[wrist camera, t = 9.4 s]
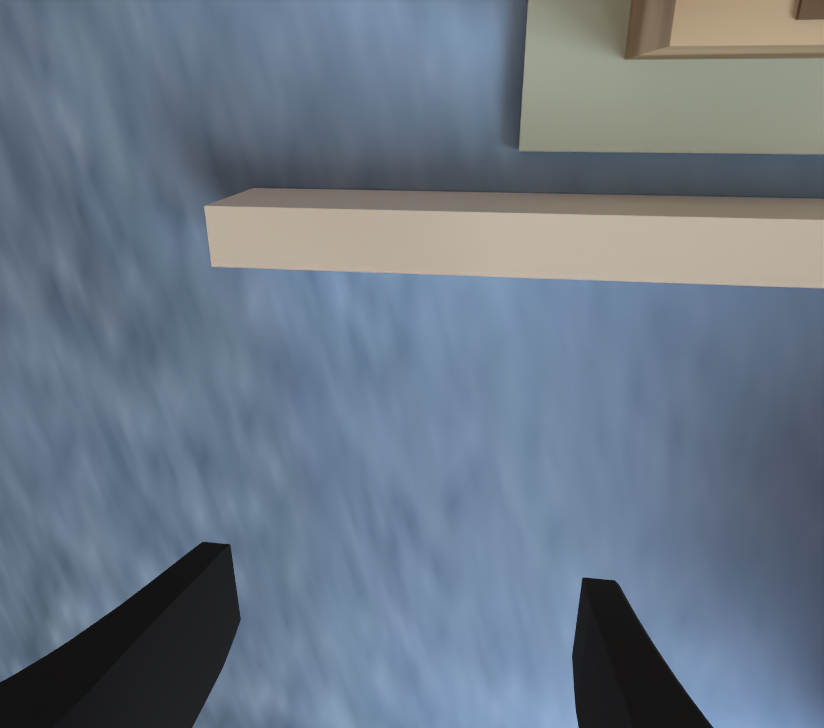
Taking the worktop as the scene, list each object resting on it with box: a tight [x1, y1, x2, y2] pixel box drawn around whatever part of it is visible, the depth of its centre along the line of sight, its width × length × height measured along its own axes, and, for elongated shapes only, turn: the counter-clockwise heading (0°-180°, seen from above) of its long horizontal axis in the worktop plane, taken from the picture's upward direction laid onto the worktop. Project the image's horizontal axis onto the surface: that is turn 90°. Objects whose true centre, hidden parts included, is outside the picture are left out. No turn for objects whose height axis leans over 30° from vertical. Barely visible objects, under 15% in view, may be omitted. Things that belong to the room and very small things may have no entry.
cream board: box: [204, 188, 824, 288], centre depth 17 cm, size 2×22×4 cm, turn 90°
